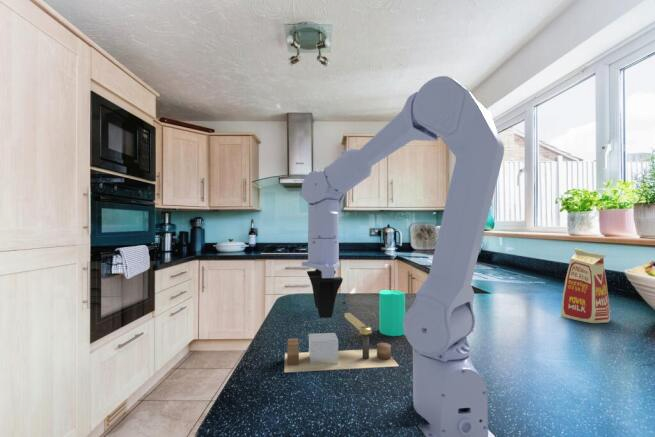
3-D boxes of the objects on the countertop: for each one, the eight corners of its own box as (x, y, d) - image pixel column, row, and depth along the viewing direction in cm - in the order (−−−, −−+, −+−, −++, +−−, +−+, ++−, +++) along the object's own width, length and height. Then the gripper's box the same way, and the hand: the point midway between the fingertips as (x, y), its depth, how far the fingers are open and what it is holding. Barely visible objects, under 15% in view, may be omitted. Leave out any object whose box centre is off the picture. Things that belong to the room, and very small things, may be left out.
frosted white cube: (338, 364, 54) (338, 340, 54) (310, 365, 53) (310, 341, 54) (334, 355, 58) (335, 332, 58) (308, 356, 57) (308, 333, 58)
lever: (362, 335, 56) (362, 330, 56) (342, 317, 67) (342, 313, 67) (373, 334, 56) (373, 329, 56) (351, 316, 68) (351, 312, 68)
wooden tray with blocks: (399, 372, 53) (399, 341, 54) (284, 379, 51) (284, 346, 51) (385, 354, 61) (384, 326, 61) (284, 359, 59) (285, 330, 59)
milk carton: (560, 316, 89) (558, 248, 90) (578, 313, 93) (576, 247, 94) (598, 325, 81) (596, 250, 82) (616, 320, 85) (613, 249, 86)
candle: (406, 342, 68) (405, 288, 69) (379, 340, 69) (378, 287, 70) (404, 333, 74) (404, 283, 75) (379, 331, 75) (379, 283, 76)
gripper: (300, 237, 63) (300, 303, 63) (303, 239, 49) (303, 324, 48) (333, 237, 64) (333, 302, 64) (346, 239, 50) (346, 323, 49)
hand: (323, 312), depth 56 cm, fingers open, 6 cm apart
